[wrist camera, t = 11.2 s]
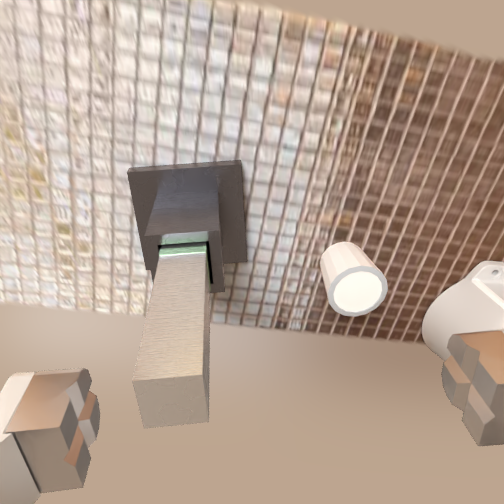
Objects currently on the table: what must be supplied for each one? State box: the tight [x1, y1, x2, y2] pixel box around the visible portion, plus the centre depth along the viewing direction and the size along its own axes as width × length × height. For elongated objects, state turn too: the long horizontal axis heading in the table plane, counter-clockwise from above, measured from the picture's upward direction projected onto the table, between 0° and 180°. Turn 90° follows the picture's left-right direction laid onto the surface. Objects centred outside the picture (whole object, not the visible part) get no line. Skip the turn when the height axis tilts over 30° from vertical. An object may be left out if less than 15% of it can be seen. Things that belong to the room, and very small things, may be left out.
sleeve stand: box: [127, 160, 247, 293], centre depth 45 cm, size 12×12×12 cm
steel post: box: [132, 241, 211, 428], centre depth 34 cm, size 4×4×18 cm
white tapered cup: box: [320, 242, 388, 317], centre depth 52 cm, size 7×7×7 cm
